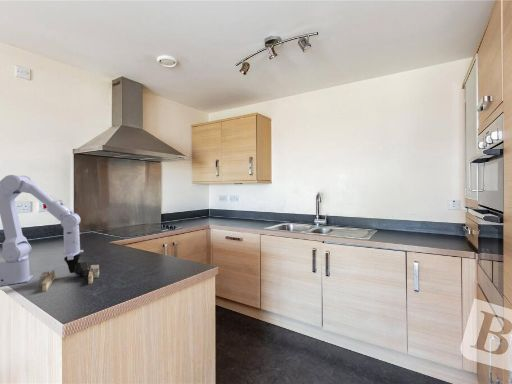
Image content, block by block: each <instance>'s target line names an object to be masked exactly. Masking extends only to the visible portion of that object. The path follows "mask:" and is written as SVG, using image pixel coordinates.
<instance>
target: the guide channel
mask: <svg viewBox="0 0 512 384" xmlns="http://www.w3.org/2000/svg"><path fill="white" fill-rule="evenodd" d="M55 278H56V270H55V269H53V270H50V271H43V272H42V273H41V274H40V276H39V286H40V288H41V287H42V288H41V290H42V293H43V292H47V291H48V289H49V288H50V287H51V285H52V283H53V281H54V280H55ZM96 278H97V279H98V278H100V264H91V265H90V271H89V276H88V281H87V282H88V285H90V284H93V281H94V279H96Z"/></svg>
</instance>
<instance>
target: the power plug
mask: <svg viewBox="0 0 512 384" xmlns="http://www.w3.org/2000/svg"><path fill="white" fill-rule="evenodd" d="M90 268H91V265H90V264H89V262H88V261H78V263H77V264H76V265H75V270H74V272H75V273H74V274H75V275H76V277H84V278H85V279H86V281H87V282H88V276H89V272H90Z"/></svg>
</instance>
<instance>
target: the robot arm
mask: <svg viewBox="0 0 512 384" xmlns="http://www.w3.org/2000/svg"><path fill="white" fill-rule="evenodd" d="M22 193H25V194H30V195H31V196H33V197H34V198H36V199H37V200H39V202H41V203H42V204H43V205H45V206H46V210H47V212H48V213H49V214H50V215H52V216H53V217H54V218H55V219H57V221H59V222H60V223H59V224H60V226H61V227H62V228H63V249H64V251H63V255H64V256H65V257H64V258H63V260H64V261H65V263H66V265H67V267H68V270H69V274H76V273H75V272H74V270H75V265H76V264H77V263H79V260H80V258H81V253H84V249H81V242H80V241H81V240H80V239H81V238H80V225H79V224H81V221H82V219H81V217H80V215H79V214H78V213H76V212H74V211H73V210H70V209H69V207H67V206H66V203H65V202H64V201H62V202H61V201H60V200H54V199H53V198H52V197H51V196H50V195H49V194H48V193H47V192H46V191H45V190H44V189H42V187H40V186H39V185H38V183H36V181H34V180H32V179H31V178H30V177H29V176H26V175H14V174H8V175H5V176H4V177H3V178H2V179H1V180H0V219H1V224H2V228H3V233H4V237H5V239H4V241H3V242H2V250H1V258H2V259H3V260H4V261H0V287H1V286H10V285H14V284H23V283H28V282H29V281H30V280H31V279H32V278H33V276H34V275H31V274H30V259H29V255H30V253H31V251H32V246H31V244H30V243H29V241H28V239H27V237H25V236H24V234H23V231H22V230H23V229H22V226H21V221H20V216H19V213H18V208H17V204H16V198H17V197H18V196H19V195H20V194H22Z"/></svg>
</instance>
